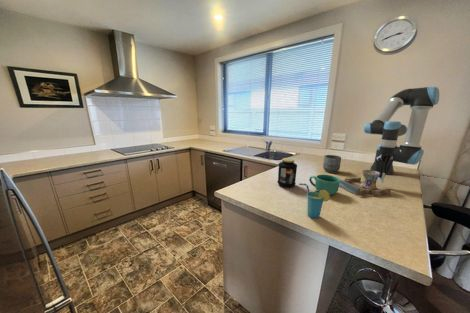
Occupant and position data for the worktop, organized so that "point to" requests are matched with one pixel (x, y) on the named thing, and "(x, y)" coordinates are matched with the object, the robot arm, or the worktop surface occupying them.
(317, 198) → the cup
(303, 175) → the worktop surface
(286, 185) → the container
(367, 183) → the mug
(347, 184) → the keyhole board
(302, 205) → the worktop surface
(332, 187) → the mug
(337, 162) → the planter
